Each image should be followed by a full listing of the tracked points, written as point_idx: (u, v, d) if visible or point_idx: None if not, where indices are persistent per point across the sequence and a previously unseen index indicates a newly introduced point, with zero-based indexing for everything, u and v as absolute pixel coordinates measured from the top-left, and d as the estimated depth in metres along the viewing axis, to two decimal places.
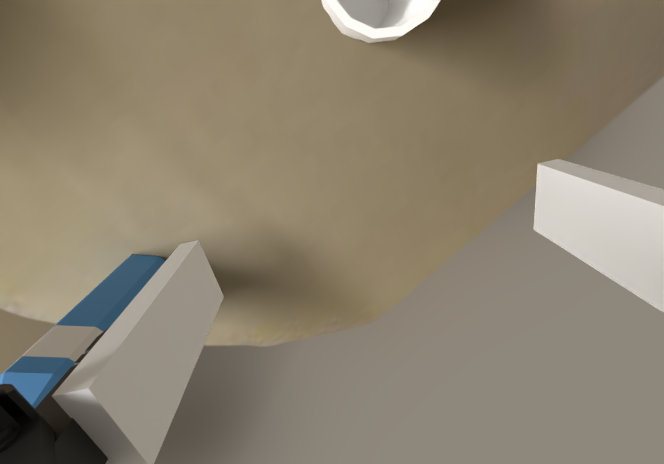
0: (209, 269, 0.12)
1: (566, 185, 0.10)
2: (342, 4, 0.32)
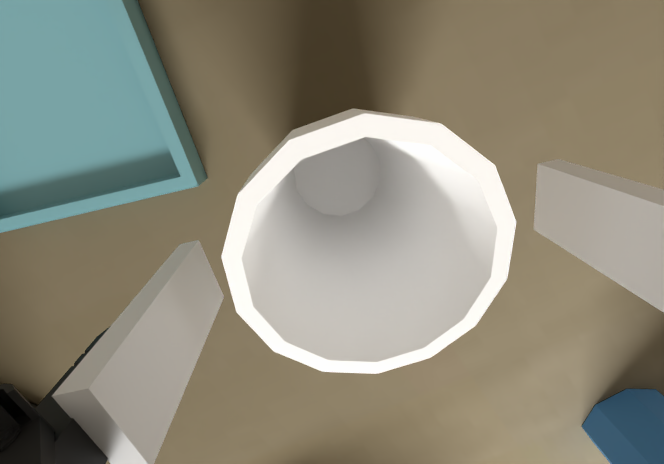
0: (209, 269, 0.12)
1: (566, 185, 0.10)
2: (341, 200, 0.22)
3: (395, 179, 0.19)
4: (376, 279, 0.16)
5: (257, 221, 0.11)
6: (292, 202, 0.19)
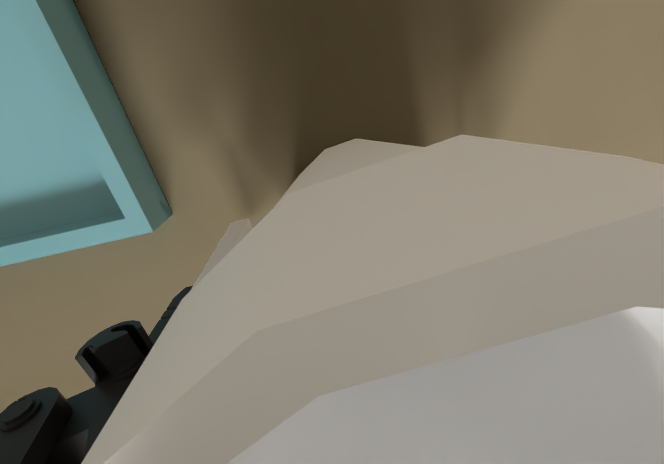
0: None
1: None
2: None
3: None
4: (438, 417, 0.09)
5: None
6: None
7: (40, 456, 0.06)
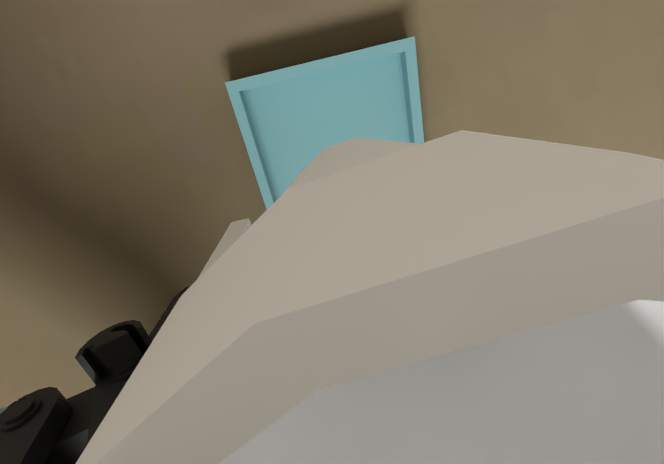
0: None
1: None
2: None
3: None
4: (438, 416, 0.09)
5: None
6: None
7: (40, 456, 0.06)
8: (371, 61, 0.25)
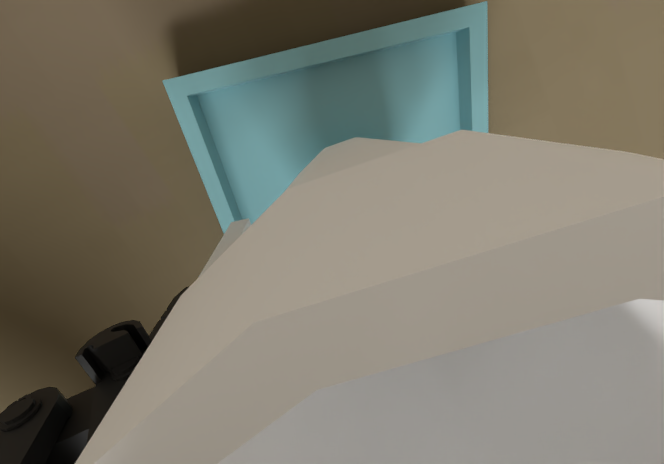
0: None
1: None
2: None
3: None
4: (438, 416, 0.09)
5: None
6: None
7: (40, 456, 0.06)
8: (408, 46, 0.15)
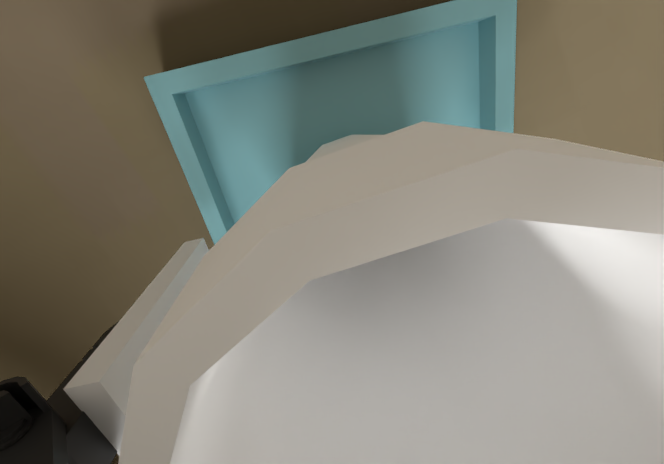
0: None
1: None
2: None
3: None
4: (424, 382, 0.10)
5: None
6: None
7: None
8: (423, 38, 0.14)
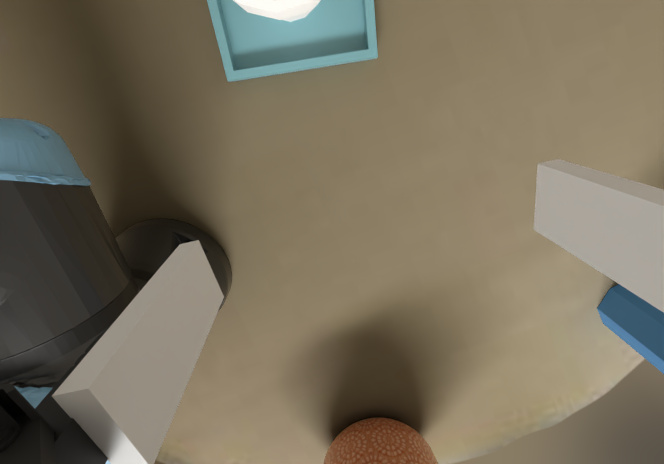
0: (209, 269, 0.12)
1: (566, 184, 0.10)
2: None
3: None
4: None
5: None
6: None
7: None
8: None
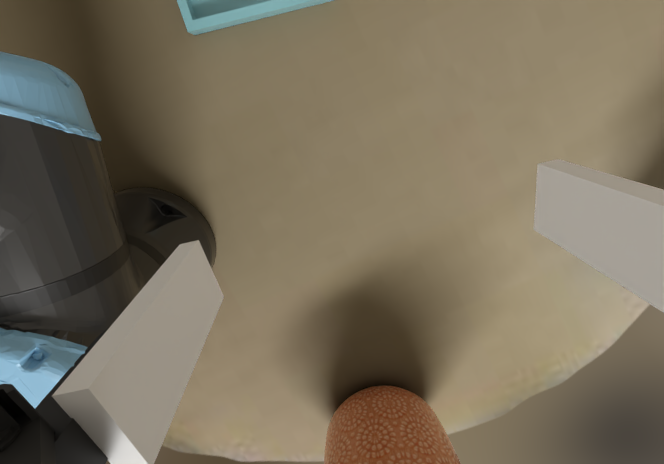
0: (209, 269, 0.12)
1: (566, 185, 0.10)
2: None
3: None
4: None
5: None
6: None
7: None
8: None
